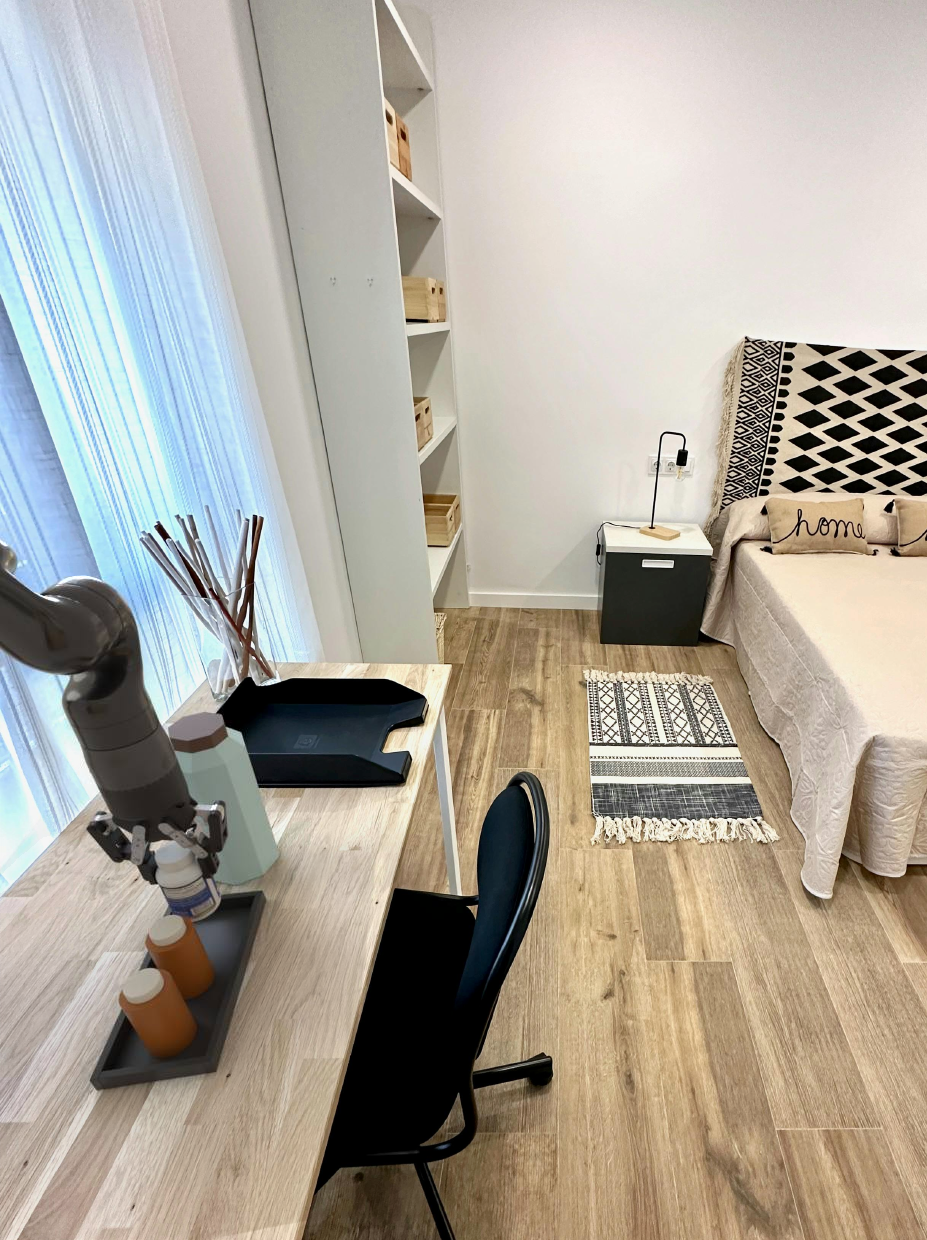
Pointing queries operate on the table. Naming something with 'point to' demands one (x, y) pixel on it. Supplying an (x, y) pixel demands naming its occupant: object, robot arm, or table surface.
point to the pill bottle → (185, 883)
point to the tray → (191, 1002)
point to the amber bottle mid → (180, 954)
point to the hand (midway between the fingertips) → (184, 876)
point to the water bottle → (226, 793)
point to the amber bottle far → (158, 1012)
